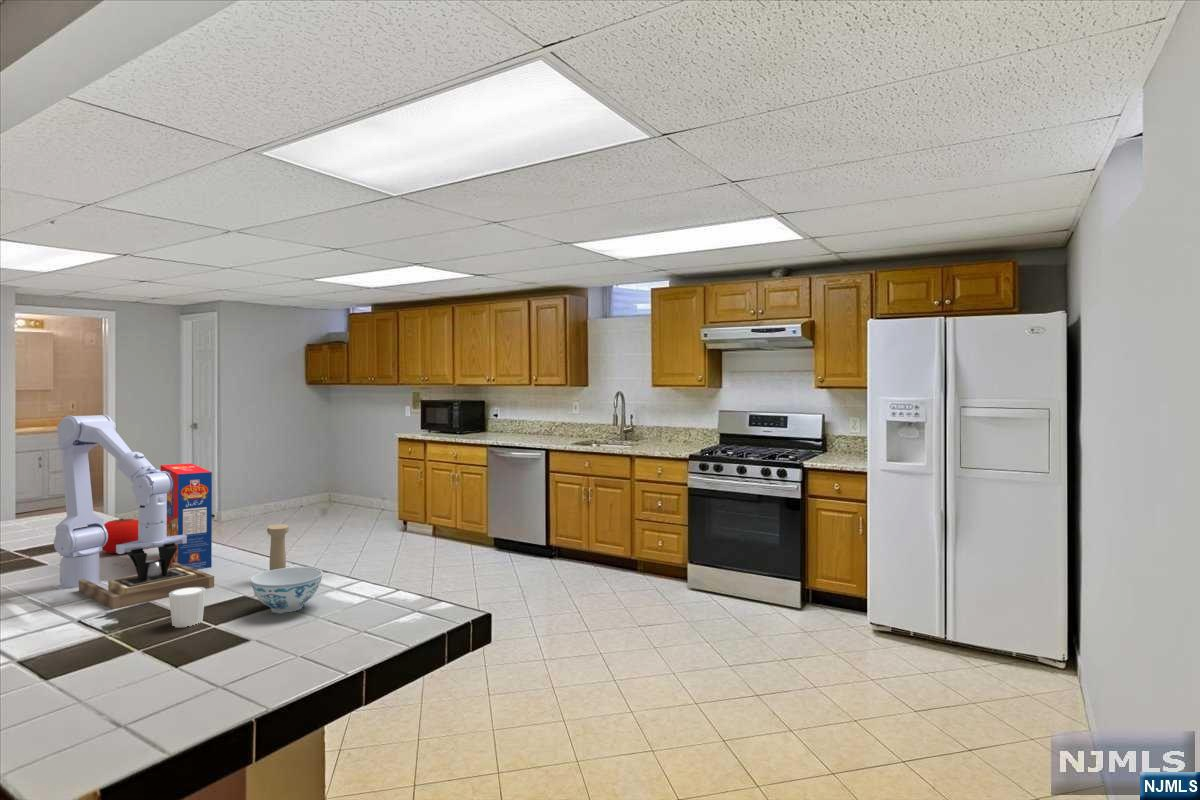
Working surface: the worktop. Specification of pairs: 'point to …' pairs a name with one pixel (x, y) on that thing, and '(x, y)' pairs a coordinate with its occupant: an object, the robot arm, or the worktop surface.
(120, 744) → the worktop surface
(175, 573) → the crate
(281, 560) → the handle
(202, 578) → the bay
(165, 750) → the worktop surface
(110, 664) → the worktop surface
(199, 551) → the pasta box
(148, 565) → the peg
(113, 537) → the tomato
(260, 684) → the worktop surface
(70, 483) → the robot arm
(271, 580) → the chinaware
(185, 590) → the white cylinder
